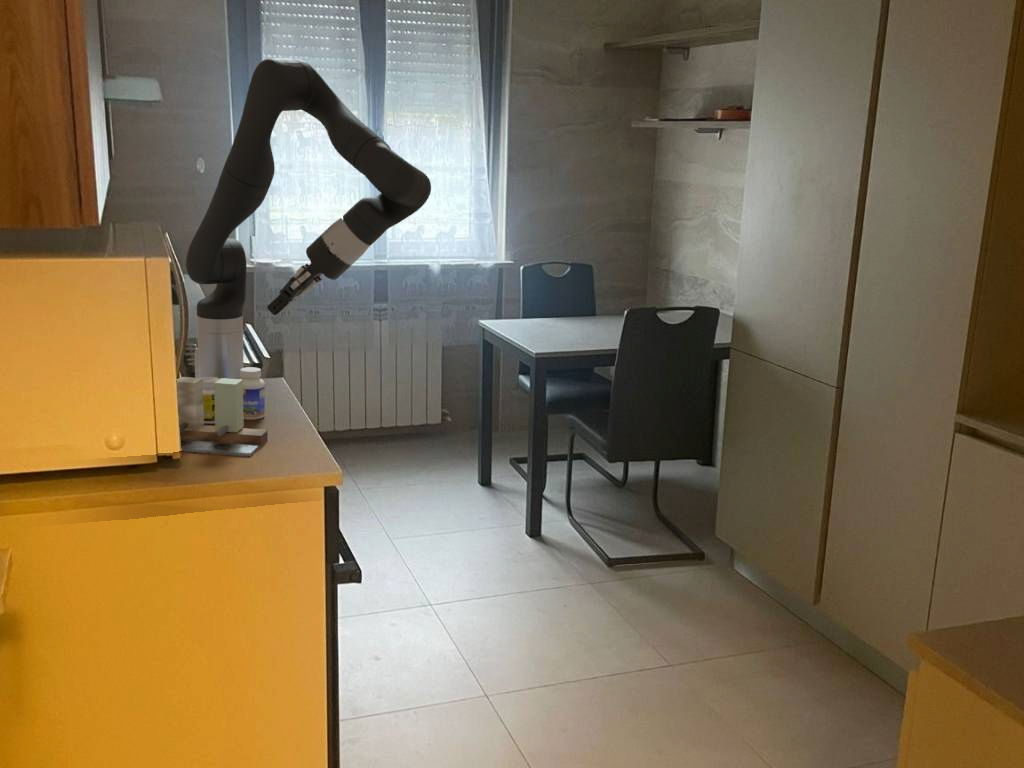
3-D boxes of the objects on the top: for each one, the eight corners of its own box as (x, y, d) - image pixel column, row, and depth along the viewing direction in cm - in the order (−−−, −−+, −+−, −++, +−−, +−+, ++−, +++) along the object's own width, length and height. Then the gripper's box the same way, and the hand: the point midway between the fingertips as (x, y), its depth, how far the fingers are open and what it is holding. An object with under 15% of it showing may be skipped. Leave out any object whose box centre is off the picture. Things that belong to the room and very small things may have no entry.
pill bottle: (233, 419, 189) (232, 371, 187) (241, 411, 194) (240, 365, 192) (260, 421, 189) (259, 373, 187) (268, 413, 194) (267, 367, 192)
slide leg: (208, 436, 171) (207, 387, 169) (222, 425, 178) (221, 378, 176) (230, 438, 171) (229, 389, 169) (243, 426, 178) (242, 379, 175)
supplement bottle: (214, 425, 185) (213, 383, 183) (192, 422, 186) (191, 380, 184) (227, 418, 189) (226, 377, 187) (204, 416, 190) (203, 375, 188)
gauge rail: (167, 445, 172) (165, 386, 169) (183, 433, 179) (181, 376, 176) (255, 452, 171) (254, 392, 168) (267, 440, 178) (267, 382, 175)
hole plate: (161, 450, 170) (161, 446, 169) (173, 441, 174) (172, 437, 174) (250, 456, 169) (250, 453, 169) (259, 447, 174) (259, 444, 173)
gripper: (333, 228, 177) (268, 290, 180) (314, 235, 164) (244, 301, 168) (361, 259, 178) (296, 319, 181) (344, 268, 165) (274, 333, 169)
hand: (271, 311), depth 174 cm, fingers closed
